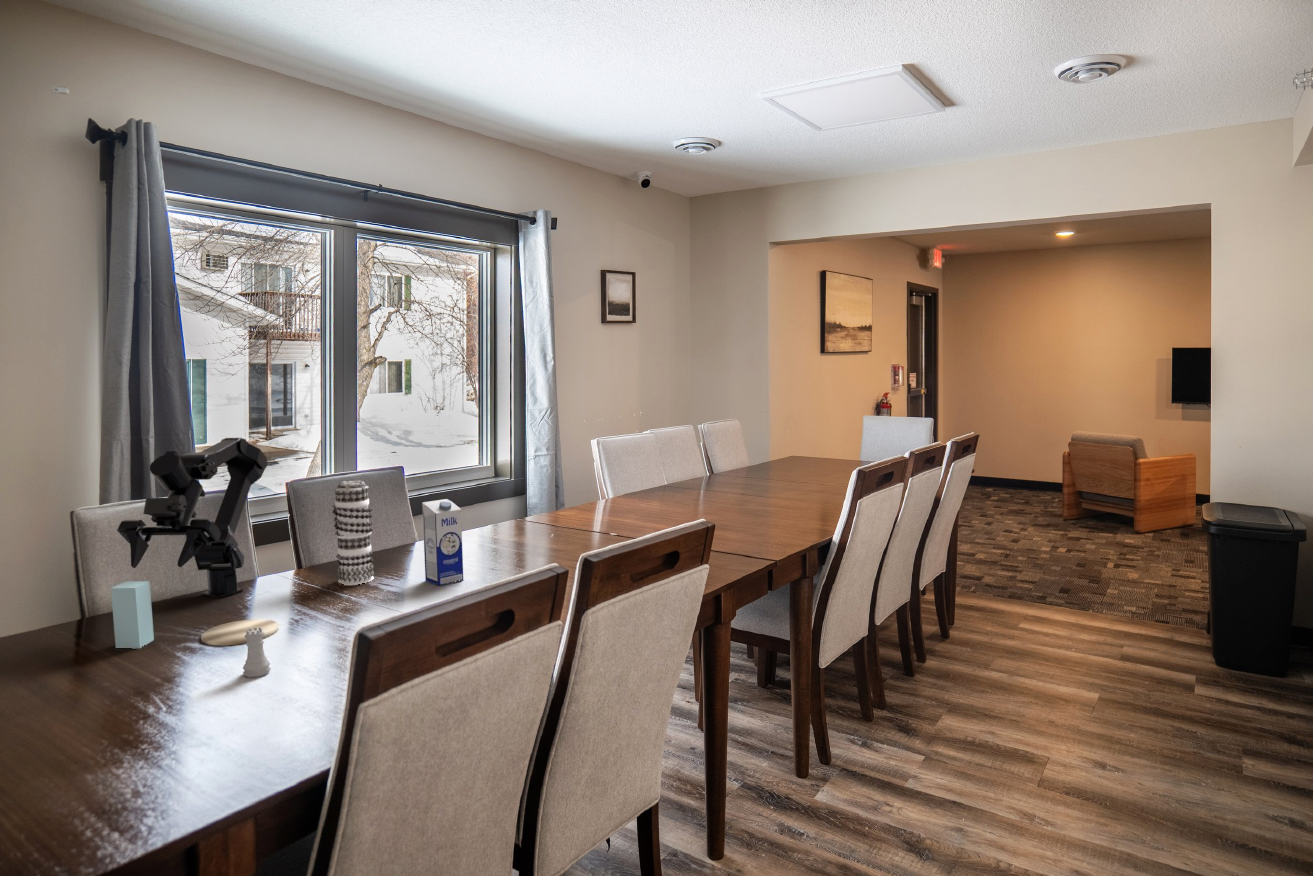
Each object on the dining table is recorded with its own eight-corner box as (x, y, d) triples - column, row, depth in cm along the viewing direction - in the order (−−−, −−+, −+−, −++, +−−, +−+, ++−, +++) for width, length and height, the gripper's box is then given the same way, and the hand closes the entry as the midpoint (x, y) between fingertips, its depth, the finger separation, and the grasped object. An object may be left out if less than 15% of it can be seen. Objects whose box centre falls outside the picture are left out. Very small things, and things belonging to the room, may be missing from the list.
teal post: (130, 640, 162) (125, 581, 160) (154, 640, 162) (149, 581, 160) (115, 648, 157) (110, 588, 156) (139, 648, 157) (135, 587, 156)
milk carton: (450, 575, 207) (447, 497, 205) (464, 580, 202) (461, 501, 200) (424, 581, 202) (421, 501, 200) (438, 586, 197) (435, 505, 195)
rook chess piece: (249, 669, 146) (246, 626, 145) (274, 668, 146) (272, 625, 146) (238, 679, 142) (235, 634, 141) (265, 678, 142) (262, 633, 141)
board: (186, 638, 162) (185, 635, 162) (250, 618, 174) (250, 615, 174) (230, 650, 155) (230, 647, 155) (293, 628, 168) (293, 625, 168)
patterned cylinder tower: (327, 583, 200) (322, 483, 198) (354, 574, 209) (350, 478, 206) (357, 587, 197) (352, 485, 194) (383, 577, 205) (378, 480, 203)
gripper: (118, 482, 169) (88, 547, 159) (209, 480, 170) (185, 545, 160) (143, 511, 178) (116, 575, 168) (230, 510, 178) (208, 573, 169)
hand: (156, 566), depth 166 cm, fingers open, 9 cm apart
